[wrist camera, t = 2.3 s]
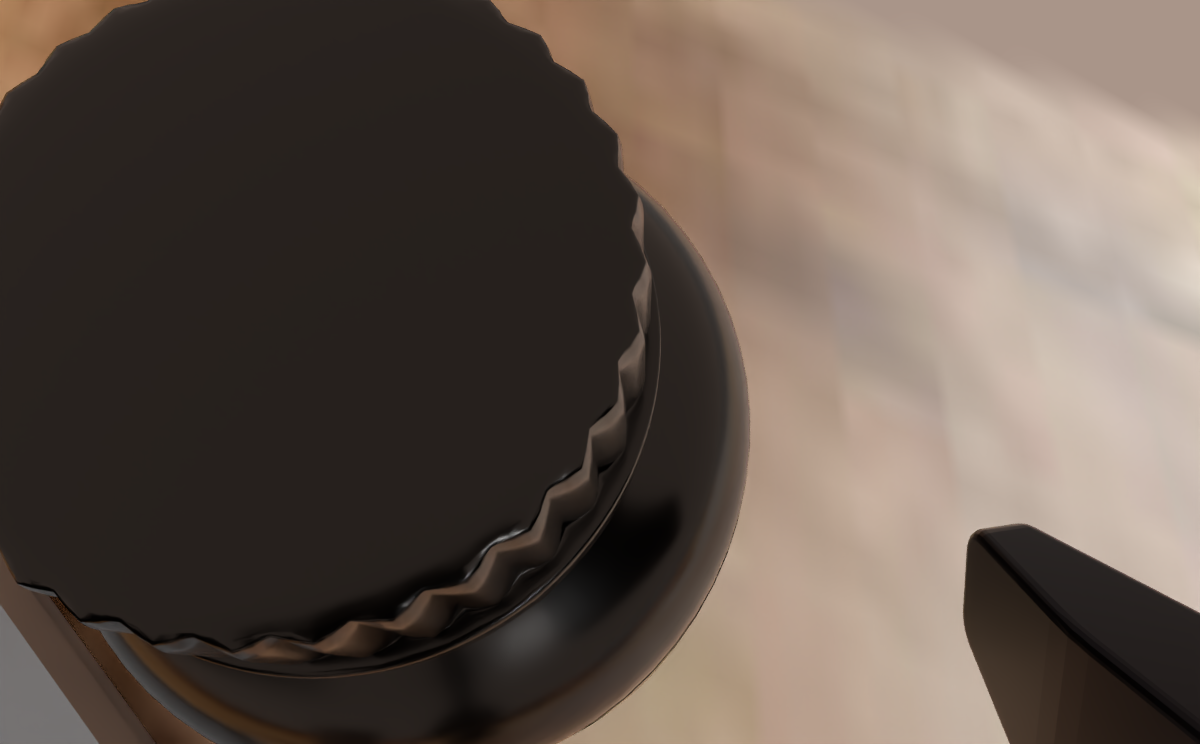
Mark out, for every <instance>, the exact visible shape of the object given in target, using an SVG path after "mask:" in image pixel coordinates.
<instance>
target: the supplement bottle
mask: <svg viewBox="0 0 1200 744" xmlns="http://www.w3.org/2000/svg"><path fill="white" fill-rule="evenodd" d="M749 447H750V408H749V398H748V387H747V378H746V373H745V368H744V363H743V358H742V353H741V348H740V345H739V341H738V338H737V335H736V332H735V328H734V325H733V322H732V319H731V316H730V314H729V311H728V309H727V307H726V304H725V302H724V299H723V297H722V295H721V292H720V290H719V288H718V286H717V284H716V282H715V280H714V279H713V277H712V275H711V273H710V271H709V269H708V268H707V266H706V264H705V262H704V260H703V259H702V257H701V255H700V254H699V253H698V251H697V250H696V248H695V247H694V245H693V244H692V242H691V241H690V239H689V238H688V237H687V235H686V234H685V232H684V231H683V230H682V229H681V227H680V226H679V225H678V224H677V223H676V222H675V220H674V219H673V218H672V217H671V216H670V215H669V213H668V212H667V211H666V210H665V209H664V208H663V207H662V206H661V205H660V204H659V203H658V202H657V201H656V200H655V199H654V198H653V197H652V196H651V195H650V194H649V193H648V192H647V191H646V190H645V189H644V188H643V187H641V186H640V185H639V184H638V183H636V182H635V181H634V180H632V179H631V178H630V177H629V176H627V175H626V174H625V173H624V171H623V152H622V145H621V141H620V139H619V137H618V134H617V133H616V132H615V131H614V130H613V129H612V128H611V127H610V126H609V125H608V124H607V123H606V122H605V121H604V120H602V119H601V118H600V117H599V116H598V115H596V114H595V113H594V110H593V105H592V102H591V98H590V94H589V91H588V88H587V86H586V83H585V81H584V80H583V79H581V78H580V77H578V76H577V75H575V74H574V73H572V72H571V71H569V70H567V69H566V68H564V67H562V66H560V65H559V64H557V63H555V62H554V61H553V59H552V56H551V53H550V51H549V49H548V47H547V45H546V43H545V42H544V40H543V38H542V36H541V35H539V34H537V33H534V32H532V31H530V30H527V29H525V28H522V27H519V26H516V25H513V24H510V23H508V22H507V21H506V20H505V19H504V17H503V16H502V14H501V12H500V11H499V10H498V9H497V7H496V6H495V5H494V4H493V3H492V2H491V1H490V0H148V1H146V2H142V3H138V4H130V5H126V6H122V7H119V8H115V9H113V10H112V11H111V12H110V13H109V14H107V15H106V16H105V17H104V18H103V19H102V20H101V21H100V22H99V23H98V24H97V25H96V26H95V27H94V28H93V29H92V30H91V31H90V32H89V33H87V34H84V35H81V36H79V37H76V38H74V39H71V40H69V41H67V42H65V43H63V44H60V45H58V46H56V48H55V49H54V50H53V52H52V53H51V54H50V55H49V57H48V58H47V59H46V61H45V64H44V65H43V66H42V68H41V69H40V70H39V72H38V73H37V74H36V75H34V76H32V77H31V78H29V79H27V80H25V81H24V82H22V83H20V84H19V85H17V86H16V87H14V88H13V89H12V90H10V91H9V92H7V93H6V95H5V96H4V98H3V100H2V102H1V104H0V553H1V556H2V558H3V560H4V562H5V564H6V566H7V568H8V570H9V571H10V573H11V575H12V576H13V578H14V580H15V581H16V583H17V584H18V585H20V586H22V587H23V588H25V589H28V590H30V591H34V592H38V593H42V594H46V595H50V596H54V597H58V598H59V599H60V601H61V602H62V603H63V604H64V606H65V607H66V608H67V609H68V610H69V611H70V612H71V613H72V614H73V615H74V616H75V617H76V618H77V619H78V621H79V622H80V623H82V624H84V625H86V626H87V627H90V628H92V629H97V630H100V631H101V633H102V635H103V637H104V638H105V640H106V641H107V643H108V644H109V645H110V647H111V648H112V650H113V651H114V652H115V654H116V655H117V657H118V658H119V659H120V661H121V662H122V664H123V665H124V666H125V668H126V669H127V670H128V671H129V672H130V673H131V674H132V675H133V676H134V678H135V679H136V680H137V681H138V682H139V683H140V684H141V685H142V686H143V688H144V689H145V690H146V691H147V692H148V693H149V694H150V695H151V696H152V697H154V698H155V699H156V700H157V701H158V702H159V703H160V704H162V705H163V706H164V707H165V708H166V709H167V710H168V711H169V712H171V713H172V714H173V715H174V716H175V717H177V718H178V719H180V720H181V721H182V722H184V723H185V724H187V725H188V726H190V727H191V728H192V729H194V730H195V731H197V732H198V733H200V734H201V735H202V736H204V737H205V738H207V739H209V740H211V741H212V742H214V743H216V744H557V743H559V742H561V741H563V740H565V739H567V738H569V737H570V736H572V735H573V736H574V734H575V733H577V732H578V731H579V732H580V730H581V729H582V730H583V728H584V729H585V728H587V727H588V726H590V725H591V724H593V723H594V722H596V721H598V720H599V719H600V718H602V717H603V716H604V715H606V714H607V713H608V712H610V711H611V710H612V709H614V708H615V707H616V706H618V705H619V704H620V703H621V702H623V701H624V700H625V699H627V698H628V697H629V696H630V695H632V694H633V693H634V692H635V691H636V690H637V689H638V688H639V687H640V686H641V685H642V684H643V683H644V682H645V681H646V680H647V679H648V678H649V677H650V676H651V675H652V674H653V673H654V671H655V670H656V669H657V668H658V667H659V666H660V664H661V663H662V662H663V661H664V660H665V658H666V657H667V656H668V655H669V654H670V652H671V651H672V650H673V649H674V648H675V646H676V645H677V643H678V642H679V641H680V639H681V638H682V636H683V635H684V633H685V632H686V630H687V629H688V628H689V626H690V625H691V623H692V622H693V620H694V619H695V618H696V616H697V614H698V612H699V610H700V609H701V607H702V605H703V603H704V601H705V600H706V598H707V596H708V594H709V592H710V591H711V589H712V587H713V585H714V583H715V581H716V578H717V576H718V574H719V571H720V569H721V567H722V564H723V562H724V560H725V558H726V555H727V553H728V550H729V546H730V543H731V540H732V537H733V534H734V531H735V528H736V525H737V521H738V517H739V512H740V508H741V503H742V498H743V493H744V489H745V483H746V475H747V466H748V457H749ZM582 730H581V731H582ZM579 732H578V733H579Z"/></svg>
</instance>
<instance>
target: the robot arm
mask: <svg viewBox="0 0 1200 744" xmlns="http://www.w3.org/2000/svg"><path fill="white" fill-rule="evenodd" d="M963 619H964V626H965V632H966V635H967V639H968V642H969V645H970V647H971V650H972V652H973V655H974V657H975V660H976V662H977V665H978V667H979V670H980V672H981V674H982V677H983V679H984V682H985V684H986V687H987V689H988V692H989V694H990V697H991V699H992V701H993V704H994V706H995V709H996V711H997V714H998V716H999V719H1000V721H1001V724H1002V726H1003V728H1004V731H1005V733H1006V736H1007V738H1008V741H1009V743H1010V744H1200V613H1199V612H1197V611H1195V610H1193V609H1191V608H1189V607H1187V606H1186V605H1184V604H1182V603H1180V602H1178V601H1176V600H1174V599H1172V598H1170V597H1168V596H1166V595H1164V594H1162V593H1160V592H1158V591H1157V590H1155V589H1153V588H1151V587H1149V586H1147V585H1145V584H1143V583H1141V582H1139V581H1137V580H1135V579H1133V578H1131V577H1129V576H1128V575H1126V574H1124V573H1122V572H1120V571H1118V570H1116V569H1114V568H1112V567H1110V566H1108V565H1106V564H1104V563H1102V562H1100V561H1099V560H1097V559H1095V558H1093V557H1091V556H1089V555H1087V554H1085V553H1083V552H1081V551H1079V550H1077V549H1075V548H1073V547H1071V546H1069V545H1068V544H1066V543H1064V542H1062V541H1060V540H1058V539H1056V538H1054V537H1052V536H1050V535H1048V534H1046V533H1044V532H1042V531H1040V530H1039V529H1037V528H1035V527H1032V526H1030V525H1027V524H1011V525H1004V526H998V527H991V528H985V529H979V530H977V531H976V532H974V533H973V534H972V535H971V536H970V539H969V541H968V546H967V556H966V572H965V588H964V604H963Z"/></svg>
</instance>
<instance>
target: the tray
mask: <svg viewBox="0 0 1200 744" xmlns="http://www.w3.org/2000/svg"><path fill="white" fill-rule="evenodd" d="M0 744H156V743H155V741H154V740H153V739H152V737H151V736H150V734H149V733H148V732H147V730H146V729H145V728H144V726H143V725H142V723H141V722H140V721H139V719H138V718H137V717H136V715H135V714H134V712H133V711H132V710H131V708H130V707H129V706H128V704H127V703H126V701H125V700H124V699H123V697H122V696H121V695H120V693H119V692H118V690H117V689H116V688H115V686H114V685H113V684H112V682H111V681H110V679H109V678H108V677H107V675H106V674H105V673H104V671H103V670H102V668H101V667H100V666H99V664H98V663H97V662H96V660H95V659H94V657H93V656H92V655H91V653H90V652H89V651H88V649H87V648H86V646H85V645H84V644H83V642H82V641H81V640H80V638H79V637H78V635H77V634H76V633H75V631H74V630H73V629H72V627H71V626H70V624H69V623H68V622H67V620H66V619H65V618H64V616H63V615H62V613H61V612H60V611H59V609H58V608H57V607H56V605H55V604H54V602H53V601H52V600H51V598H50V597H49V596H48V595H46V594H42V593H38V592H34V591H30V590H28V589H25V588H23V587H22V586H20V585H18V584H17V583H16V581H15V580H14V578H13V576H12V575H11V573H10V571H9V570H8V568H7V566H6V564H5V562H4V560H3V558H2V556H1V553H0Z"/></svg>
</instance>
